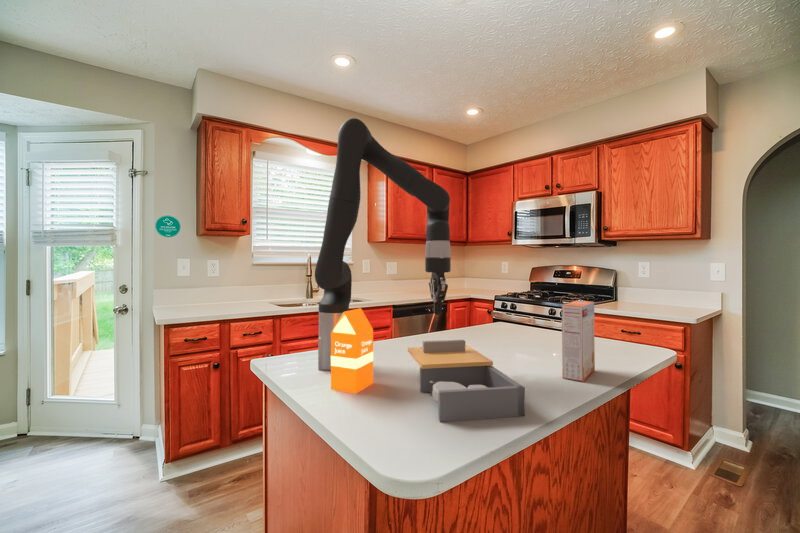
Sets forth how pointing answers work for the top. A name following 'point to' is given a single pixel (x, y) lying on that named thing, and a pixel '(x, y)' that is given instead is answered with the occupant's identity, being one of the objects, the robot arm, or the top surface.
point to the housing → (475, 393)
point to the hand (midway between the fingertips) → (437, 314)
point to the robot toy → (450, 387)
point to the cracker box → (578, 340)
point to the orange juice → (352, 352)
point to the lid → (447, 355)
